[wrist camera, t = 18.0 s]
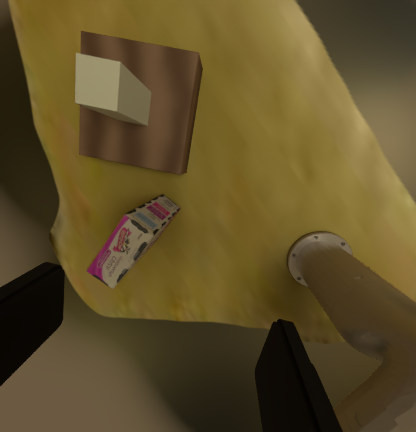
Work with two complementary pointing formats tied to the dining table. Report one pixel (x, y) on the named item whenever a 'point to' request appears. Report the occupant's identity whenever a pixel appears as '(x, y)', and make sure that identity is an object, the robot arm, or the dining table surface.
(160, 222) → the candy bar box
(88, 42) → the walnut block
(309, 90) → the dining table surface
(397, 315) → the robot arm
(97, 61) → the sage block
